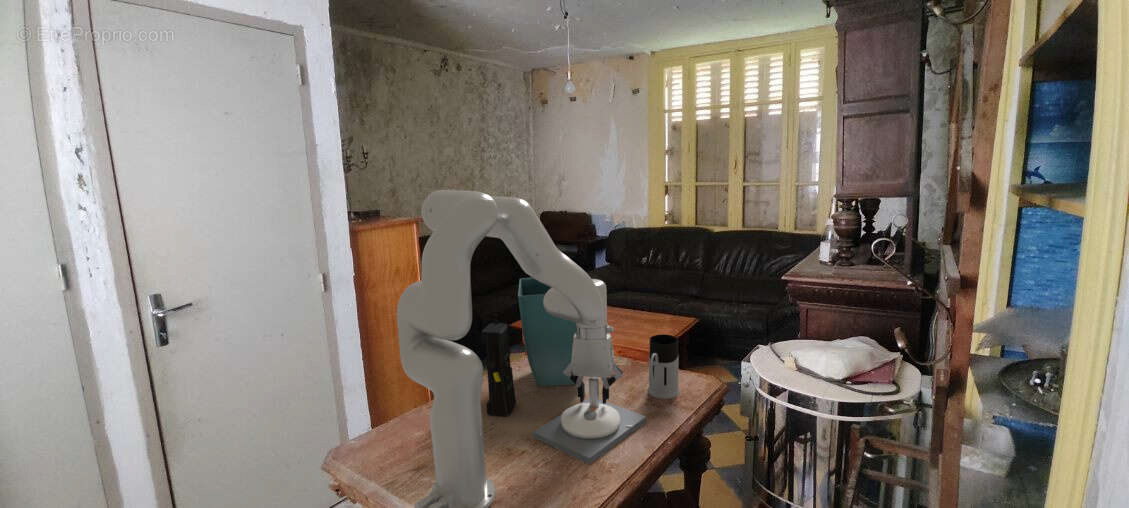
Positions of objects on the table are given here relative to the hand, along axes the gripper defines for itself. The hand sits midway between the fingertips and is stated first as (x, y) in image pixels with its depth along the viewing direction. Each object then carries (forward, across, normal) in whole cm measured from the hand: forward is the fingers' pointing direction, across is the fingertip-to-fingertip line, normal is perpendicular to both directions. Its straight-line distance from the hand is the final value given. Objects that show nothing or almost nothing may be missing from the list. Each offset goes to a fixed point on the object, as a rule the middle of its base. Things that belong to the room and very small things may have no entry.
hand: (593, 399), depth 130 cm
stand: (+5, 0, +6) cm, 7 cm away
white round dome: (+3, 0, +5) cm, 6 cm away
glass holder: (+5, -16, -14) cm, 22 cm away
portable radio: (+5, +24, 0) cm, 25 cm away
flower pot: (+5, +14, -22) cm, 27 cm away
